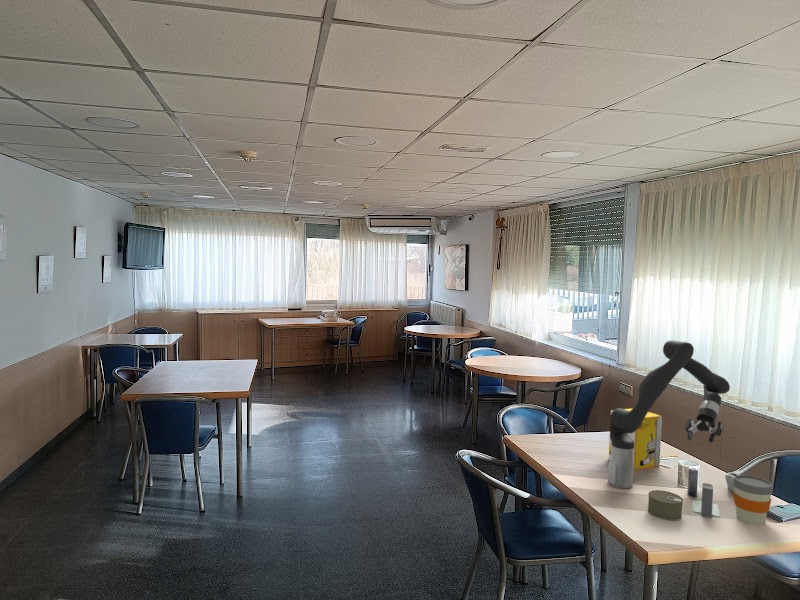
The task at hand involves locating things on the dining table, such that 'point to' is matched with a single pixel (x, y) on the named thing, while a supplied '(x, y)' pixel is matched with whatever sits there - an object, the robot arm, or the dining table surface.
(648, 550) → the dining table surface
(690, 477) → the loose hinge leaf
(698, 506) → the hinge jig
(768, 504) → the reusable coffee cup
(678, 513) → the can
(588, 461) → the dining table surface
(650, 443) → the packaging box
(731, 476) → the hinge
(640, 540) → the dining table surface
